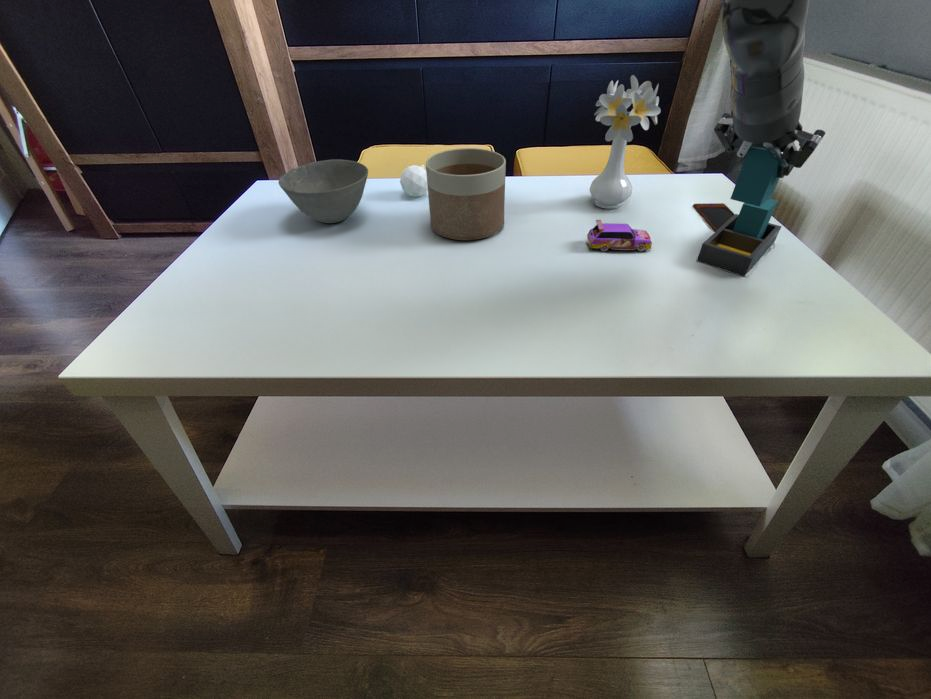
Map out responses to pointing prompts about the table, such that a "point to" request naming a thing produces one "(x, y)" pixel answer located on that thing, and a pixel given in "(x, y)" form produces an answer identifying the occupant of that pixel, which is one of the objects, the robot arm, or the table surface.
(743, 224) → the teal cuboid
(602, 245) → the toy car
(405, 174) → the ornament
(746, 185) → the teal block
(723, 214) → the smartphone
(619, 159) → the flower vase
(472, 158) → the planter
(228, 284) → the table surface
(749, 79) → the robot arm
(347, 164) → the bowl
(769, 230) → the dark grey open box
